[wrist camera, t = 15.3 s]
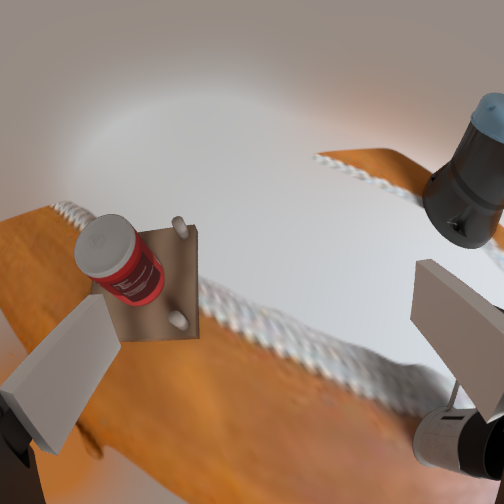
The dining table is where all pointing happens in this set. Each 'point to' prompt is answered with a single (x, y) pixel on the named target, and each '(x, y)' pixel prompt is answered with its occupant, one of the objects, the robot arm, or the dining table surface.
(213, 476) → the dining table surface
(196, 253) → the peg board
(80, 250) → the canned food
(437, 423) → the grey mug
